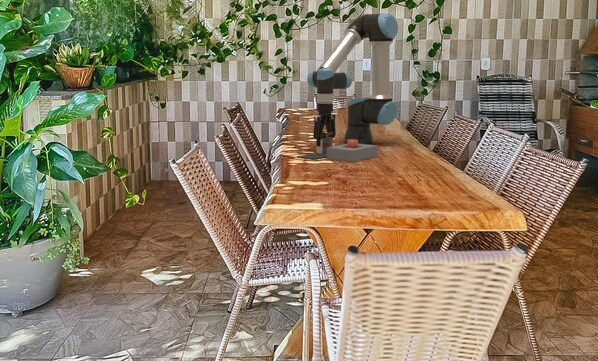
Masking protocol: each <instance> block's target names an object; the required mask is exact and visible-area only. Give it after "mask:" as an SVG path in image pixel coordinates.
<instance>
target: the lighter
mask: <svg viewBox="0 0 598 361" xmlns="http://www.w3.org/2000/svg"><path fill="white" fill-rule="evenodd" d="M329 135H332V133H331V132H327V131H326V132H325V131H323V133H322V137H321V139H322V154H323V155H327V147H333V146H334V145H333V140H334V138H333V137H329ZM315 154H320V153H317V146H316V150H315Z"/></svg>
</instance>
